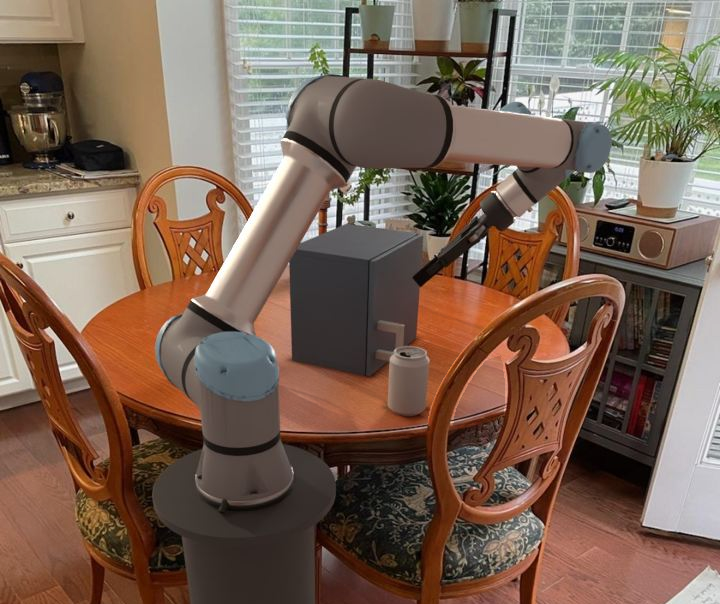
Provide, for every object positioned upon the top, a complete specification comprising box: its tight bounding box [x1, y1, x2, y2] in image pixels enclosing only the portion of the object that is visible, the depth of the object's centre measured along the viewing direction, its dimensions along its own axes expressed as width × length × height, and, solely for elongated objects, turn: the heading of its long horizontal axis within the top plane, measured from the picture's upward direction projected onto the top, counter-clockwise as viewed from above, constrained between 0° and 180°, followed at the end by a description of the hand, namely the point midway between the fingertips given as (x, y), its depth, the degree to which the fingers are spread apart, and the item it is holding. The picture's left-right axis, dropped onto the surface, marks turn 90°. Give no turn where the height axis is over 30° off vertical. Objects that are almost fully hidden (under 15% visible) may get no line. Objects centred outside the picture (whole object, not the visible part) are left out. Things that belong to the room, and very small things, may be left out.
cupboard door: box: [365, 233, 424, 377], centre depth 154 cm, size 7×26×24 cm, turn 154°
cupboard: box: [288, 223, 419, 377], centre depth 158 cm, size 18×26×24 cm
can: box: [387, 345, 431, 417], centre depth 135 cm, size 8×8×12 cm
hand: (416, 281), depth 152 cm, fingers closed
